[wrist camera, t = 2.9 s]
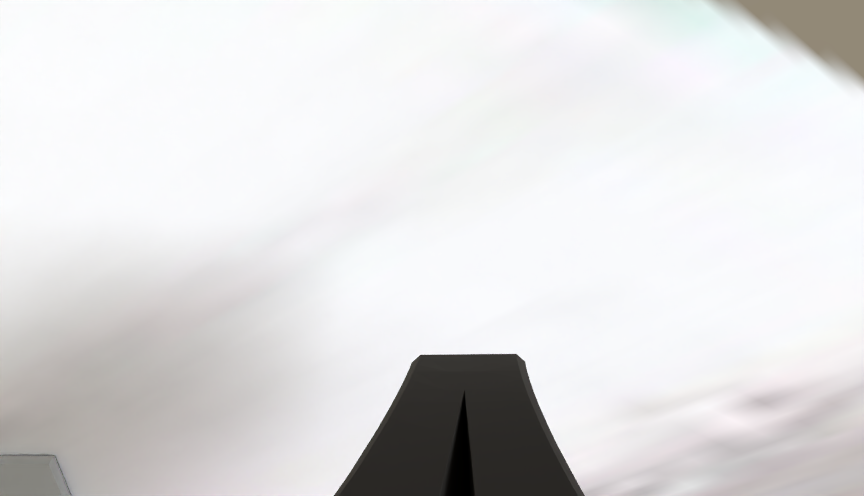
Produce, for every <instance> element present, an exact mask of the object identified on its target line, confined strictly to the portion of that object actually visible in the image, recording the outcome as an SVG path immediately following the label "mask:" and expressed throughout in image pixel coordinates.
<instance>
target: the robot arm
mask: <svg viewBox="0 0 864 496" xmlns="http://www.w3.org/2000/svg"><path fill="white" fill-rule="evenodd" d="M334 496H585V495H584V494H583V492H582V490H581V488H580V487H579V485H578V483H577V481H576V479H575V477H574V476H573V474H572V472H571V470H570V468H569V466H568V464H567V463H566V461H565V459H564V457H563V455H562V453H561V451H560V449H559V448H558V446H557V444H556V442H555V440H554V437H553V435H552V433H551V431H550V429H549V427H548V425H547V423H546V420H545V418H544V416H543V414H542V411H541V409H540V407H539V404H538V402H537V399H536V397H535V394H534V392H533V389H532V386H531V383H530V380H529V376H528V373H527V369H526V364H525V361H524V360H522V359H521V358H520V357H519V356H518V355H517V354H470V355H420V356H419V357H418V358H417V359H415V360H414V361H413V362H412V364H411V366H410V369H409V371H408V373H407V376H406V378H405V380H404V382H403V384H402V386H401V388H400V390H399V392H398V394H397V395H396V397H395V399H394V401H393V403H392V405H391V407H390V408H389V410H388V412H387V414H386V415H385V417H384V419H383V421H382V422H381V424H380V426H379V428H378V429H377V431H376V432H375V434H374V436H373V437H372V439H371V440H370V442H369V444H368V445H367V447H366V448H365V450H364V451H363V453H362V455H361V456H360V458H359V459H358V461H357V463H356V464H355V466H354V467H353V469H352V470H351V472H350V473H349V475H348V476H347V478H346V479H345V481H344V482H343V484H342V485H341V487H340V488H339V489H338V491H337V492H336V494H335V495H334Z"/></svg>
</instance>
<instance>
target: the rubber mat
mask: <svg viewBox="0 0 864 496" xmlns="http://www.w3.org/2000/svg"><path fill="white" fill-rule="evenodd" d="M0 496H71V494H70V492H69V489H68V487H67V484H66V482H65V480H64V477H63V475H62V472H61V470H60V467H59V465H58V463H57V460H56V458H55V456H30V455H0Z"/></svg>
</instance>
